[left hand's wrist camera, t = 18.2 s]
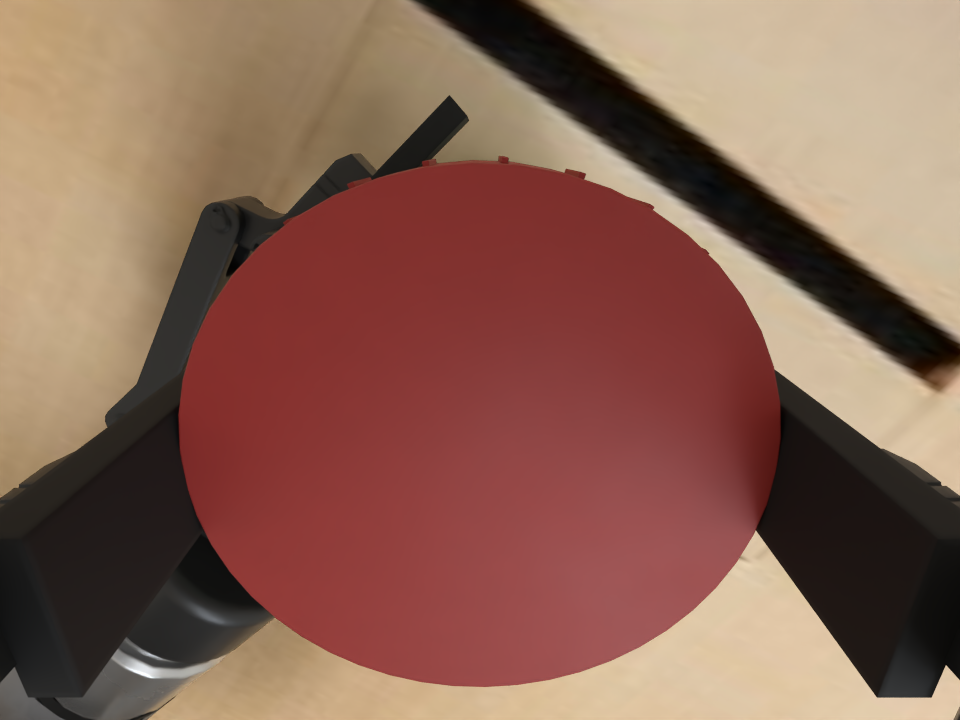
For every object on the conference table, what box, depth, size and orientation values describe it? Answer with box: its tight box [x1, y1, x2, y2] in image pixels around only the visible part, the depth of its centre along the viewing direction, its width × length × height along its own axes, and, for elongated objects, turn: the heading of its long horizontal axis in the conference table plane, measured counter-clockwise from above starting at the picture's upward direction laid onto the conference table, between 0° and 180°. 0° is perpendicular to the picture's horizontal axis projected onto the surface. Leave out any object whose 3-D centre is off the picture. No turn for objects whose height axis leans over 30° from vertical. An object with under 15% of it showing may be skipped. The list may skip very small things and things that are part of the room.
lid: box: [178, 156, 781, 687], centre depth 11 cm, size 11×11×2 cm
